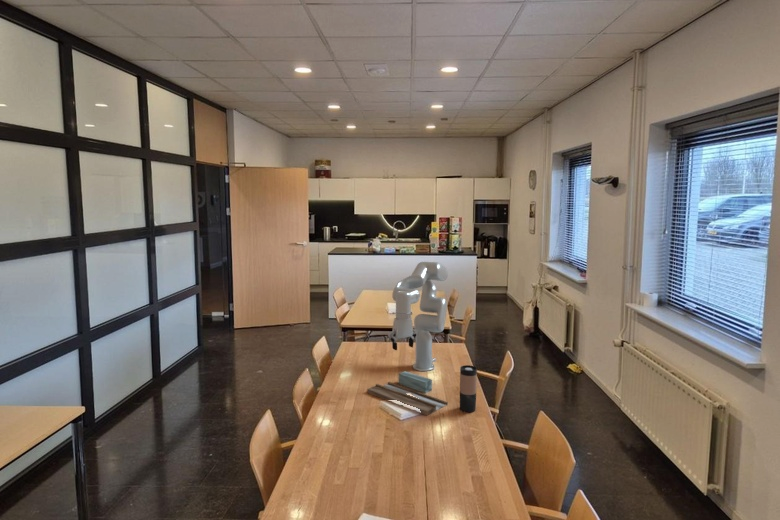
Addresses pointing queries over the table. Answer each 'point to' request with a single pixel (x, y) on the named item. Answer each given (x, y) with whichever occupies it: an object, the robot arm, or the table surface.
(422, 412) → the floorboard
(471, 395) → the travel mug
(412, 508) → the table surface
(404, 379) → the teal rectangular block
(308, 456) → the table surface
